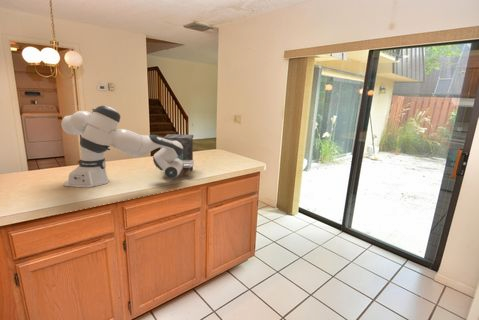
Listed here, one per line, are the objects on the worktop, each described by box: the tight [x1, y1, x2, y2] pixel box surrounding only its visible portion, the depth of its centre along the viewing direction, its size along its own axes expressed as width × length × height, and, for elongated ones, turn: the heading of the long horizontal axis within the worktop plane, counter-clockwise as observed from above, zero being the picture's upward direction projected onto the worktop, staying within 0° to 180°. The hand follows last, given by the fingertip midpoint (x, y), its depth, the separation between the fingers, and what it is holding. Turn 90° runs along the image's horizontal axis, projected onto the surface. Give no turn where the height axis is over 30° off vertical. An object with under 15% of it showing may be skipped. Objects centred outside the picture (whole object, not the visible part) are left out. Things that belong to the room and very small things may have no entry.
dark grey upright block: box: [163, 133, 194, 177], centre depth 168 cm, size 17×16×26 cm
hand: (179, 160), depth 169 cm, fingers open, 8 cm apart
